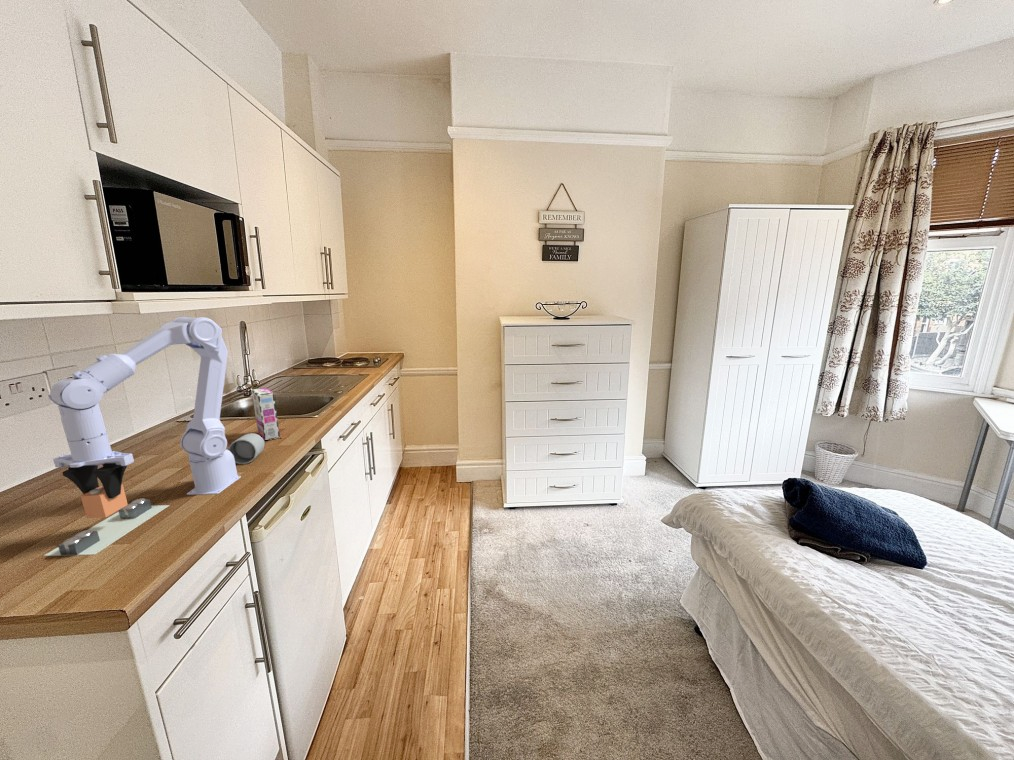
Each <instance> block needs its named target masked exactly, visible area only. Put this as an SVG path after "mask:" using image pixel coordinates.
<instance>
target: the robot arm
mask: <svg viewBox="0 0 1014 760" xmlns="http://www.w3.org/2000/svg"><path fill="white" fill-rule="evenodd" d="M172 345H173V346H174V345H185V346H188V347H190V348H191V349H192V350H193V351H194V352H195V353H196V354H198V355H199V356H200V363H199V370H198V379H197V386H196V394H195V400H194V402H195V403H194V408H193V409H194V410H193V417H192V419H191V420H190V421H189V422H188V423H187V424H186V429H185V432H184V433H183V435H182V436H181V438H180V442H179V444H180V447H181V449H182V450H183V451H185V452H186V453H188V462H189V466H190V472H191V475H192V479H193V483H194V488H192V489H191V490H190V491H188V492H187V493H186V496H189V495H190V496H191V495H199V496H200V495H218V494H220V493H221V492H223V491H224V490H225V489H227V488H228V487H229V486H231V485H233V483H235V482H236V481H238V480H239V479H240V478H241V477H242V476H241V475H238V469H237V465H236V463H235V459H234V456H233V454H232V453H231V452H230V451H229V450H228V448H227V447H228V440H227V438H226V428H225V426H224V424H223V423H222V421H221V420H220V419H221V411H222V402H223V393H224V387H225V379H226V371H227V363H228V355H229V352H228V348H227V346H226V345H227V344H225V340H224V339H223V329H222V328H221V326H219V325H218V323H216V321H214V320H213V319H210V318H209V317H205V316H202V317H188V316H179V317H176V318H174V319H173V320H172V321H169V322H166V323H164V324H163V325H162V326H161V327H159V328H158V329H156V330H155V331H153V332H152V333H151V334H150V335H148V336H146V337H144V339H141V340H140V341H139V342H138V343H136V344H133V346H132V347H130V348H128V349H127V350H125V351H124V352H122V353H121V354H120V353H109V354H107V355H105V354H100V355H99V356H97V357H95V360H96V361H95V362H94V363H92V364H90V365H89V366H86V367H85V368H83V369H82V370H80V371H79V370H75V371H74V372H72V373H71V376H72V377H73V378H71V377H69V378H63V379H61V380H58V381H57V382H55V383H54V384H53V385H52V387H51V388H50V391H49V394H48V399H49V400H50V401H51V402H52V403H53V404H55V405H57V407H58V411H59V413H60V420H61V424H62V427H63V430H64V434H65V438H66V441H67V445H68V448H69V451H70V454H63V455H60V456H57V457H55V458H52V459H53V463H54V467H55V468H62V467H68V468H67V469H66V470H64V471H62V472H61V473H62V476H63V477H65V478H67V480H69V481H71V482H72V483H73V484H75V486H76V487H77V488H78V489H79V490H80V492H81V493H82V495H84V494H86V493H88V492H90V491H91V490H94V489H96V488H98V487H100V485H99V481H100V482H101V486H102V485H103V487H104V489H105V492H106V495H107V496H108V498H114V497H116V496H118V495H119V494H121V484H123V483H122V482H123V478H124V474H125V471H126V469H127V467H128V465H131V464H133V463H134V462H135V459H134V456H133V453H127V452H126V453H125V452H122V451H121V452H119V451H116V450H112V446H111V443H110V439H109V435H108V433H107V432H108V431H107V429H106V428H107V427H106V425H105V421H104V417H103V413H102V411H101V408H100V404H99V403H100V402H101V401H102V399H103V395H104V394H106V393H108V392H109V391H110V390H112V389H114V388H115V387H117V386H118V385H120V384H121V383H123V382H124V381H126V380H127V379H129V378H130V377H132V376H134V375H135V373H136V368H137V365H139V364H141V363H143V362H144V361H146V360H148V359H150V358H151V357H153V356H154V355H156V354H158V353H159V352H161V351H163V350H164V349H166V348H168V347H169V346H170V347H171V346H172ZM99 466H101V467H99Z"/></svg>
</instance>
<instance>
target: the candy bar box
mask: <svg viewBox="0 0 1014 760" xmlns="http://www.w3.org/2000/svg"><path fill="white" fill-rule="evenodd" d="M274 394H275V393H274V392H273V391H271V390H270V389H268V387H262V388H261V387H260V388H253V389H251V395H252V402H253V410H254V414H255V421H256V426H257V433H258V435H259V434H260V435H261V436H262V438H263V440H264V441H265V440H268V441H271V440H270V439H273V440H275V439H274V438H277V439H279V438H278V437H280V438H281V435H280V434H281V433H280V429H279V428H280V427H279V422H278V414H277V407H276V406H277V405H276V400H275V399H276V398H275V395H274Z"/></svg>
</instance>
